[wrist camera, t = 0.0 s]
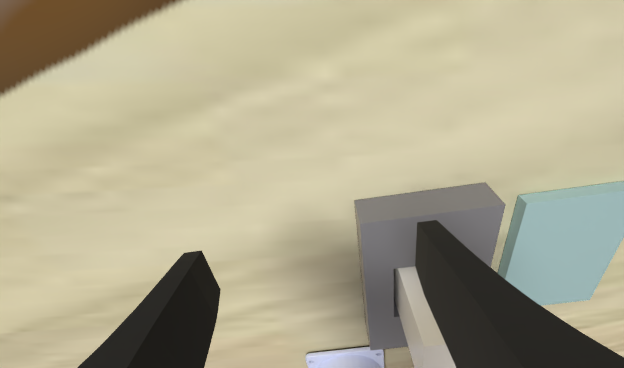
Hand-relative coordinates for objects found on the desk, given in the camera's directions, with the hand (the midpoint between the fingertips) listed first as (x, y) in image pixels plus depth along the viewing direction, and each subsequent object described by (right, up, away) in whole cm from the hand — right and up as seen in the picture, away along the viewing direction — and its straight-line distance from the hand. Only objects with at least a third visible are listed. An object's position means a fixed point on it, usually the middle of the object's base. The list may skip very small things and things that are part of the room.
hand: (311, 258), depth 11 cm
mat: (+19, -3, +14) cm, 24 cm away
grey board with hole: (+9, -4, +15) cm, 18 cm away
